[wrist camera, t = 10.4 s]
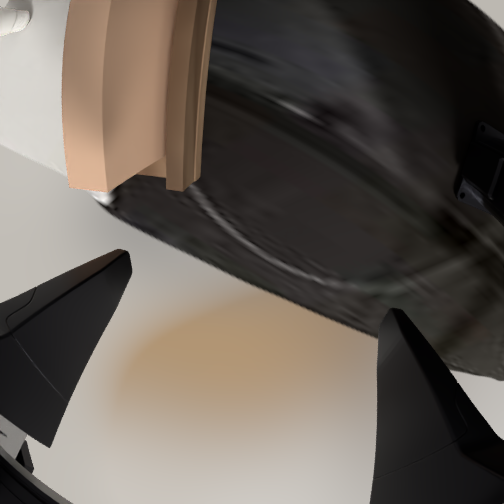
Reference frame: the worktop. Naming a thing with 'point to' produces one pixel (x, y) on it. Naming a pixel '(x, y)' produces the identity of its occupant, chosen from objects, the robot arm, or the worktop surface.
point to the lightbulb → (12, 20)
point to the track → (186, 95)
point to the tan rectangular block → (115, 88)
